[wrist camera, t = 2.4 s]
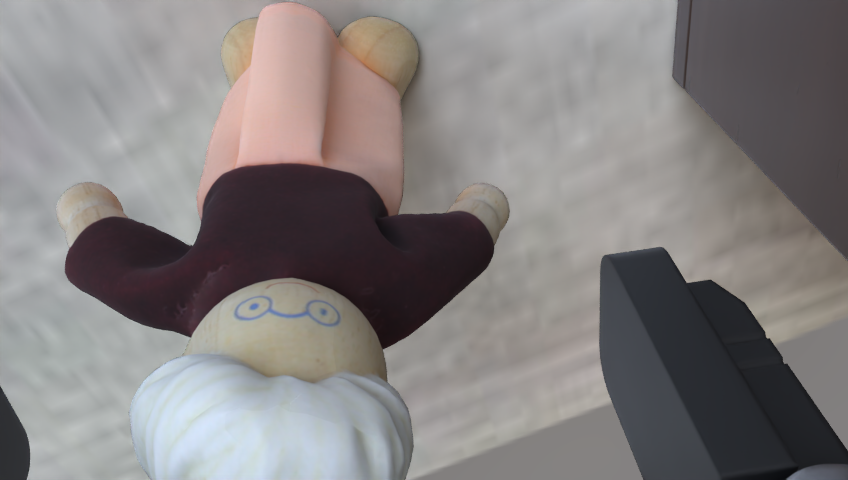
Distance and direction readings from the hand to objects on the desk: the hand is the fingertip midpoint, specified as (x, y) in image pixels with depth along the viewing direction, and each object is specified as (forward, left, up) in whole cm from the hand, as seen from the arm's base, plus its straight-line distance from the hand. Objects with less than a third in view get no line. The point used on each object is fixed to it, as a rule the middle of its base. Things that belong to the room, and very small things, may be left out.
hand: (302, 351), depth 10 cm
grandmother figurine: (0, 0, -10) cm, 10 cm away
